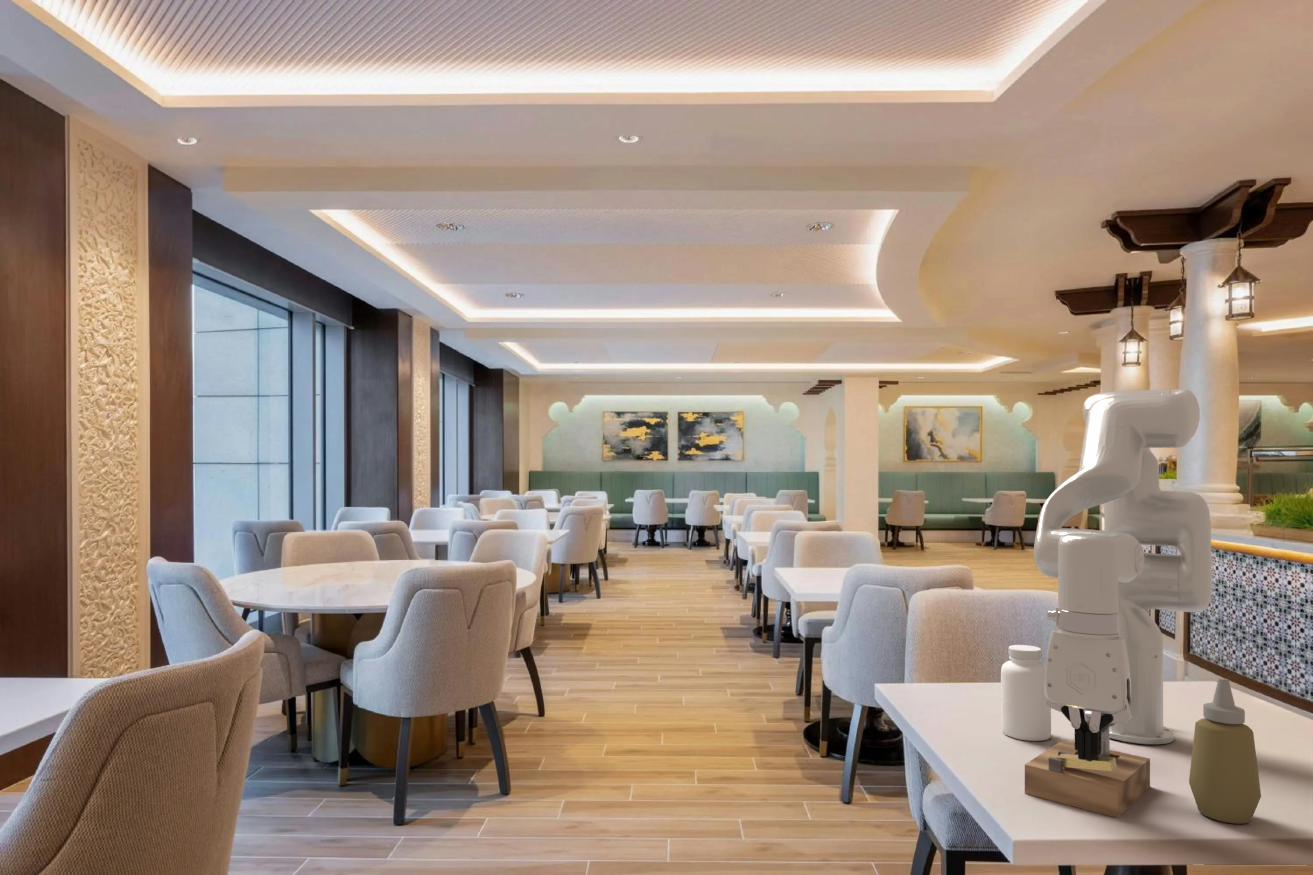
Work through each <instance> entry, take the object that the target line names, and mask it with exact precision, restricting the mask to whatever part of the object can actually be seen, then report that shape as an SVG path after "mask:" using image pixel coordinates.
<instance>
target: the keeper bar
mask: <svg viewBox="0 0 1313 875" xmlns="http://www.w3.org/2000/svg"><path fill="white" fill-rule="evenodd" d="M1056 758H1057V759H1061V760H1063V767H1069V768H1081V769H1093V770H1104V771H1112V770H1114V769H1115V768H1116V767H1117V764H1116V759H1115V758H1114V757H1100V756H1097V757H1096V758H1094V759H1093V760H1092V761H1091V762H1090V761H1087V760H1086V759H1083V760H1081V759H1078V755H1074V754H1061V755H1059V756H1058V757H1056Z"/></svg>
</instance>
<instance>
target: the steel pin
mask: <svg viewBox="0 0 1313 875" xmlns="http://www.w3.org/2000/svg"><path fill="white" fill-rule="evenodd" d="M1091 713H1092V711H1090V710H1085V714H1086V720H1087V723H1088V726H1089V725H1090V719H1091ZM1115 724H1116V723H1115V722H1113V723H1110V724H1108V725H1107V726H1106V727H1104V728H1103V729H1101V754H1100V755H1098V756H1100V757H1110V750H1111V748H1110V744H1111V743H1110V740H1111V738H1109V727H1110V726H1114V725H1115Z"/></svg>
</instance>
